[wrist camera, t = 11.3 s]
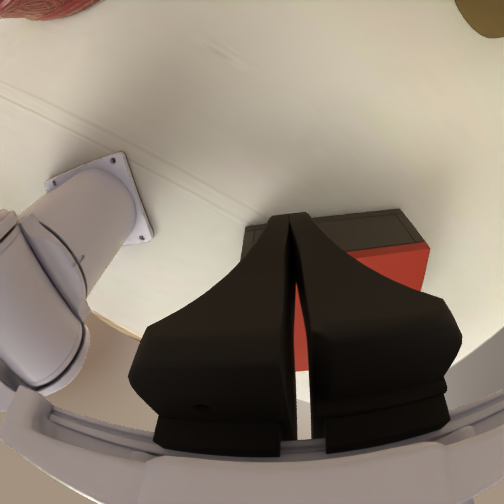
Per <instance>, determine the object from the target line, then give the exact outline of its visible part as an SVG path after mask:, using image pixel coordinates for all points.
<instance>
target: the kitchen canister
mask: <svg viewBox="0 0 504 504" xmlns="http://www.w3.org/2000/svg"><path fill="white" fill-rule="evenodd" d="M98 1H99V0H0V19H1V18H26V19H29V20H41V21H45V20H53V19H57V18H63V17H67V16H70V15H73V14H76V13H78V12H80V11H82V10H84V9H86V8H88V7H90V6H92V5H93V4H95V3H96V2H98Z"/></svg>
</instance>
